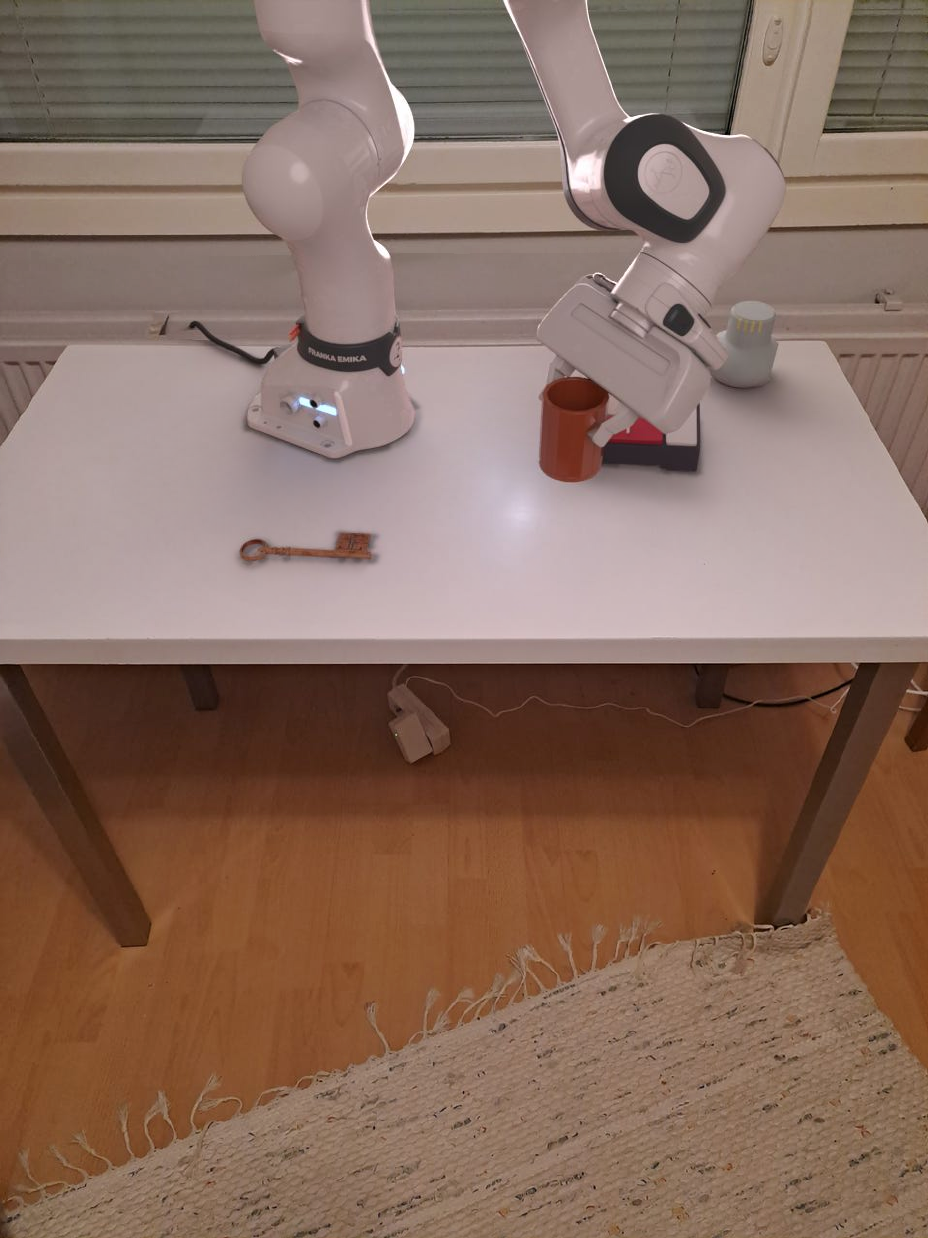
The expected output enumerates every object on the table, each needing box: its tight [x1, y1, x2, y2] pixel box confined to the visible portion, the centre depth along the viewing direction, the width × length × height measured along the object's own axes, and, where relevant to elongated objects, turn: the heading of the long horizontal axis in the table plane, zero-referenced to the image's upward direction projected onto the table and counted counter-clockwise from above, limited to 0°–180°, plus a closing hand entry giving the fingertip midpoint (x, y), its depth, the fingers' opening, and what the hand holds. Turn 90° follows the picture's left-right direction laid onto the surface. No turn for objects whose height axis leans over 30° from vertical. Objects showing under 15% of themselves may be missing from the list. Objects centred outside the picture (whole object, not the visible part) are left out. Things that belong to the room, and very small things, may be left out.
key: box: [239, 531, 372, 562], centre depth 105 cm, size 6×1×15 cm
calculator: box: [601, 394, 701, 472], centre depth 117 cm, size 11×4×15 cm
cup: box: [538, 376, 609, 484], centre depth 94 cm, size 7×7×8 cm
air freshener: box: [708, 300, 779, 389], centre depth 125 cm, size 11×8×10 cm
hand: (569, 422), depth 93 cm, fingers closed on cup, 7 cm apart
